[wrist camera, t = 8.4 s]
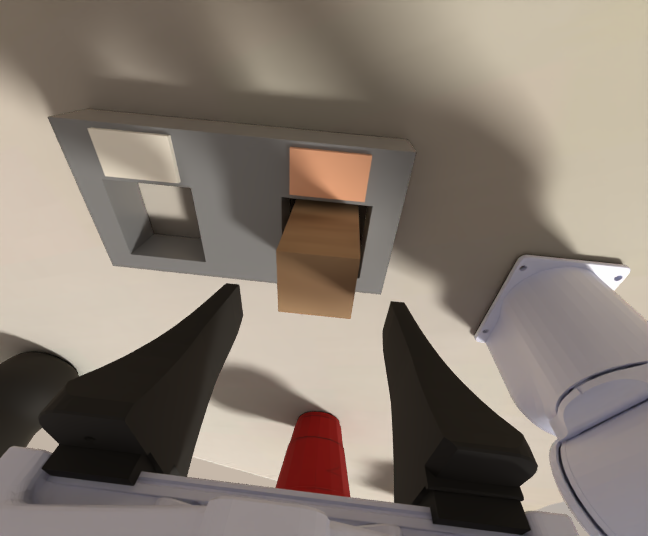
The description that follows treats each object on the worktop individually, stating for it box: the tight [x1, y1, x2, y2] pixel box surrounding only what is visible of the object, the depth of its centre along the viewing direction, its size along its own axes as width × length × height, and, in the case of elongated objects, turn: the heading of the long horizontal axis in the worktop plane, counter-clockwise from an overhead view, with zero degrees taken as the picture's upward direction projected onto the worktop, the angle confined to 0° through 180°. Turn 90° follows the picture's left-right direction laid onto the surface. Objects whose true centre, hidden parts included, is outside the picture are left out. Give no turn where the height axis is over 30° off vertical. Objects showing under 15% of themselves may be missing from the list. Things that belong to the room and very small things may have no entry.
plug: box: [276, 199, 360, 319], centre depth 18 cm, size 4×4×8 cm
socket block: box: [48, 109, 416, 294], centre depth 20 cm, size 10×20×3 cm, turn 86°
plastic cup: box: [276, 412, 350, 497], centre depth 34 cm, size 11×11×12 cm
